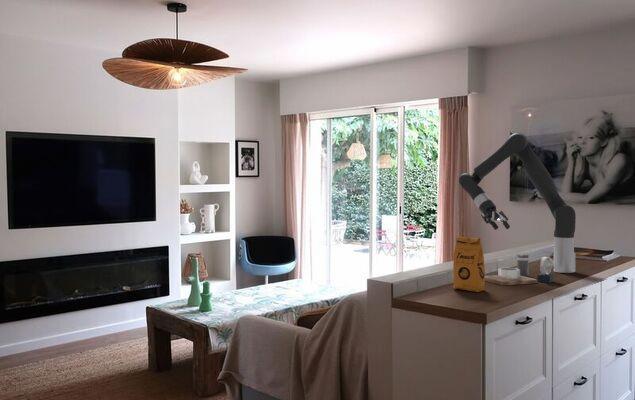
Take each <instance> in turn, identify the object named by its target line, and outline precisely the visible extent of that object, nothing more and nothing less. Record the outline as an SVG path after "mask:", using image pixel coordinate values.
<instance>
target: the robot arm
mask: <svg viewBox="0 0 635 400" xmlns="http://www.w3.org/2000/svg"><path fill="white" fill-rule="evenodd" d="M515 154H516V155H517V157H518V158H519V160H520V161H521V163H522V166H523V168H524V170H525V172H526V175H527V177H528V179H529V181H530V182H531V183H532V185H533V186H534V188H535V189H536V191H537V192H538V193H539V195H540V196H541V198H542V199H543V200H544V201H545V203H546V205H547V206H548V207H547V208H548V209H549V210H550V212H551V216H552V217H553V218H554V220H555V224H554V225H555V226H554V227H555V228H554V230H553V261H554V264H553V272H554V273H564V274H571V273H576V255H577V254H576V252H575V232H576V224H577V223H576V220H577V219H576V217H577V216H576V211H575V209H574V208H573V207H572V206H570V205H569V204H567V203H566V202H565V201H564V200H563V198H562V196H561V195H560V193H559V191H558V189H557V186H556V184H555V181H554V179H553V177H552V176H551V174H550V173H549V171H548V170H547V167H545V165H544V164H543V163H542V161H541V159H539V157H538V156H537V155H536V153H535V152H534V149H533V148H532V146H531V144H530V142H529V140H528V138H527V137H526V135H525V134H523V133H521V132H515V133H512V134H511V135H510V136H509V137H508V139H507V140H506V141H505V142H504V143H503V144H502V145H501V146H500V147H499V148H498V149H497V150H496V151H495V152H493V153H492V154H490V155H489V156H488V157H486V158H484V159H483V160H482V161H481V162H480V163H477V165H475V166H474V168H473V172H472V173H471V174H469V173H467V172H466V173H462V174H460V176H459V177H458V183H459V185H460V187H461V188H462V189H463V190H464V191H465V193H467V194H468V195H469V196H470V198H471V199H472V201H473V202H474V203H475V205H476V207H477V208H478V210H479V211H480V213H481V214H480V215H481V218H482V219H483V220H484V222H485V223H486V224H489V225H491V226H492V228H493V230H495V231H496V230H498V229H499V226H498V224H497V222H499V223H500V224H502V225H503V227H504V228H505V229H506V230H509V229H510V228H511V225H510V224H509V222H508V220H509V218H508V217H507V215H506V214H505V213H504V212H503V211H502V210H500V211H498V210H497V205H495V203H494V202H493V200H492V199H491V198H490V197H489V195H488V194H486V192H485V190H484V189H483V188H482V187H481V186H480V185H479V184H480V183H481V182H482V180H483V179H484V178H485V177H486V176H488V175H489V174H490V173H491V172H493V171H494V170H495V169H496V168H497V167H498V166H500V165H501V164H502V163H503V162H504V161H506V160H507V159H508V158H510V157H511V156H512V157H513V155H515ZM495 221H497V222H495Z"/></svg>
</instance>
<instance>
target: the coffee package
mask: <svg viewBox="0 0 635 400" xmlns="http://www.w3.org/2000/svg"><path fill="white" fill-rule="evenodd" d="M455 240H456V241H455V246H454V251H453V255H452V256H453V257H452V258H453V259H452V260H453V261H452V262H453V263H452V264H453V265H452V266H453V289H458V290H461V291H468V292H475V293H481V292H483V291H485V285H486V284H485V283H486V281H485V276H486V272H485V271H486V270H485V258H484V257H485V256H484V252H483V245H482V242H481V240H482V239H481V238H480V237H466V236H456V238H455Z"/></svg>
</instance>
